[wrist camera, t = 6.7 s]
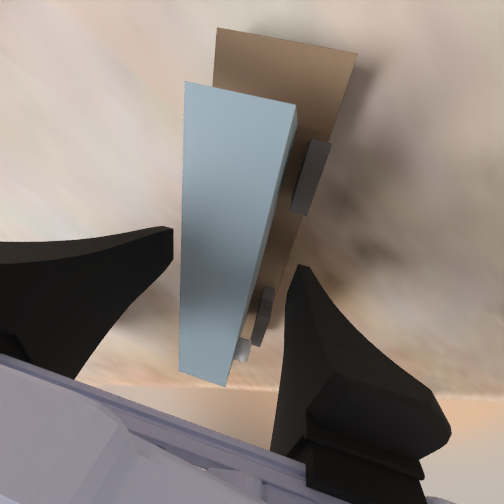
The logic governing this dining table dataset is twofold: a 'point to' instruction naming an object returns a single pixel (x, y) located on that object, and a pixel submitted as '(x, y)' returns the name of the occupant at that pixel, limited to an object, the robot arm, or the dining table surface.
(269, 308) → the rail
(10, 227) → the dining table surface
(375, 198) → the dining table surface
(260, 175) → the pale blue rectangular block
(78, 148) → the dining table surface
